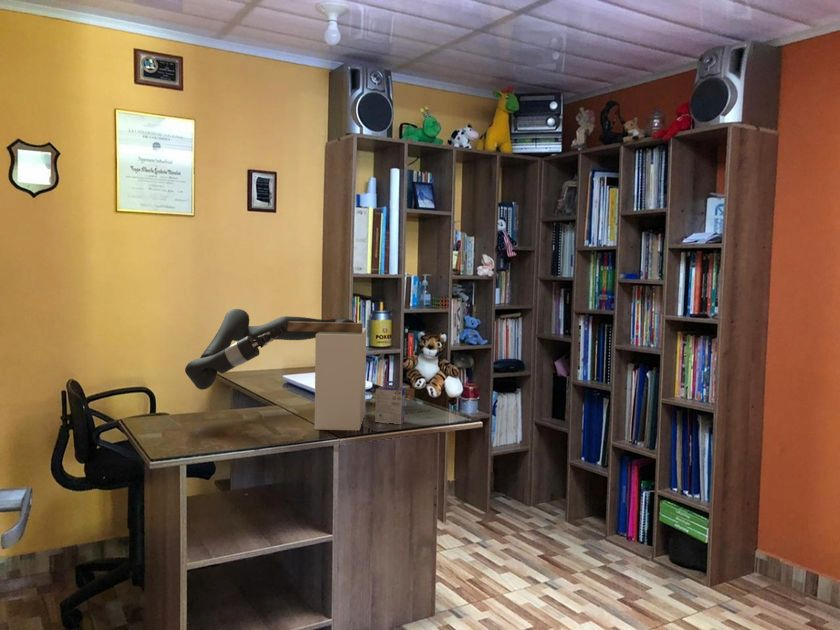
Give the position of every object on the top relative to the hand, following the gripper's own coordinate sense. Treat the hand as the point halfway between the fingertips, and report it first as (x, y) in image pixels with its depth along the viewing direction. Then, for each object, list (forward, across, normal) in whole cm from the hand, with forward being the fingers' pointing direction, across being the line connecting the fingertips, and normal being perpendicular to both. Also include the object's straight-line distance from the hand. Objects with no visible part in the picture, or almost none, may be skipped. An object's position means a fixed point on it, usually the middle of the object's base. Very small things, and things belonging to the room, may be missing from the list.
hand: (283, 329), depth 236 cm
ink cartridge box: (+15, +7, +47) cm, 50 cm away
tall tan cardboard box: (0, +6, +38) cm, 38 cm away
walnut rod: (+12, 0, +7) cm, 14 cm away
